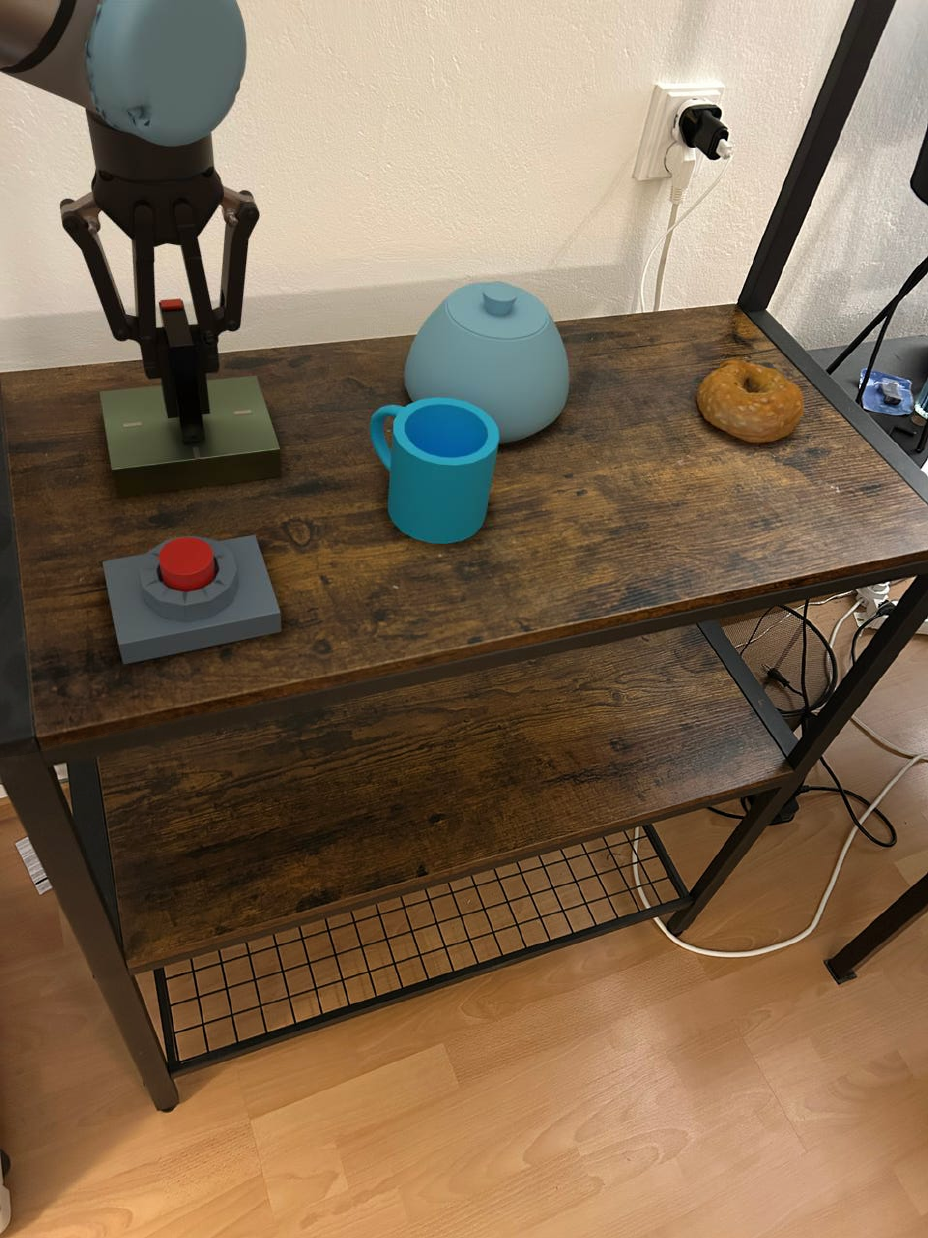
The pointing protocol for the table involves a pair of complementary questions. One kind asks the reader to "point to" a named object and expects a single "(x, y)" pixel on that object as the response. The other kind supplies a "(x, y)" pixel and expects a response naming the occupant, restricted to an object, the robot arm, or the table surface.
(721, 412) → the bagel
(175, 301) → the black slab
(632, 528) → the table surface
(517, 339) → the sugar bowl
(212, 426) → the dial panel
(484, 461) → the mug
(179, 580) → the button
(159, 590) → the button housing
